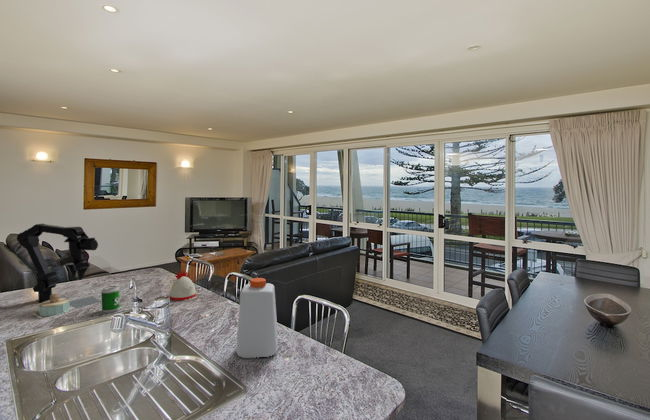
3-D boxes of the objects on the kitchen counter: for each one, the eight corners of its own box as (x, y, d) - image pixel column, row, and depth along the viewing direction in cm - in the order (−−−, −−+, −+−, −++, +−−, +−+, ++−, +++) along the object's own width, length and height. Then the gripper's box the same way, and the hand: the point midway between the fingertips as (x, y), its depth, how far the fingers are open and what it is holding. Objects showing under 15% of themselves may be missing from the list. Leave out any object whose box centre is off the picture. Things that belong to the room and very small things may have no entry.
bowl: (36, 313, 161) (35, 304, 161) (64, 306, 171) (64, 298, 170) (44, 318, 155) (43, 309, 155) (73, 311, 164) (72, 302, 164)
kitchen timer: (165, 296, 188) (165, 271, 187) (188, 291, 199) (188, 266, 198) (176, 302, 179) (176, 275, 178) (200, 296, 190) (200, 270, 189)
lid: (37, 304, 161) (37, 295, 161) (63, 298, 170) (62, 290, 170) (45, 308, 155) (44, 299, 155) (71, 302, 164) (70, 294, 164)
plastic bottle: (241, 340, 136) (241, 274, 134) (278, 340, 137) (279, 274, 135) (234, 360, 121) (234, 285, 119) (275, 359, 122) (276, 285, 120)
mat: (65, 303, 176) (65, 302, 176) (91, 297, 186) (91, 296, 186) (76, 308, 168) (76, 308, 168) (102, 302, 178) (102, 301, 178)
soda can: (111, 314, 161) (110, 290, 161) (98, 312, 163) (97, 289, 162) (123, 308, 169) (122, 286, 168) (111, 307, 170) (110, 284, 169)
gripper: (50, 250, 176) (52, 278, 177) (64, 254, 165) (65, 285, 166) (75, 247, 185) (76, 274, 186) (89, 251, 175) (90, 280, 176)
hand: (76, 278), depth 178 cm, fingers open, 9 cm apart
